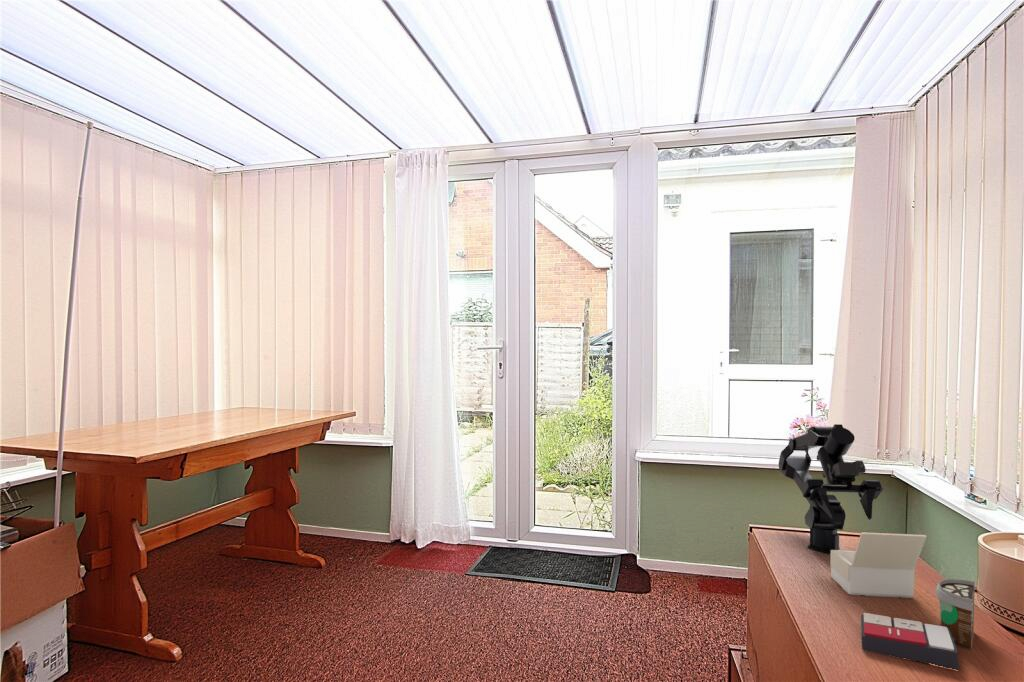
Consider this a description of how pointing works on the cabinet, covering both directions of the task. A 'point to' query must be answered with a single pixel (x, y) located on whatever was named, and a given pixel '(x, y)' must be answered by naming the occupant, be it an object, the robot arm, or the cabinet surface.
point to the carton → (870, 578)
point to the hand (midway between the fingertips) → (851, 518)
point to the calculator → (909, 640)
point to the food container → (957, 609)
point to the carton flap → (888, 550)
